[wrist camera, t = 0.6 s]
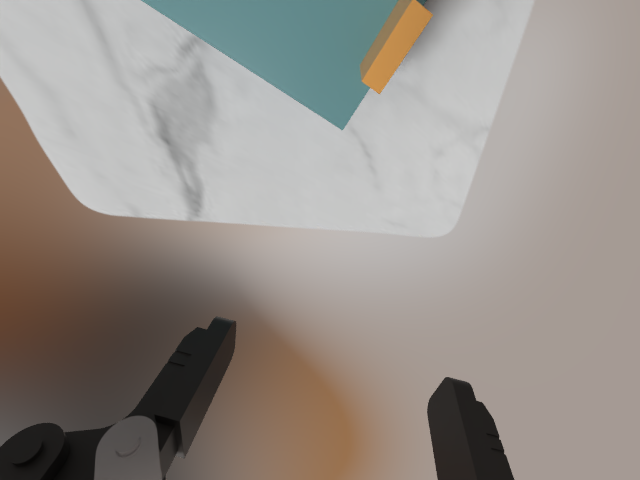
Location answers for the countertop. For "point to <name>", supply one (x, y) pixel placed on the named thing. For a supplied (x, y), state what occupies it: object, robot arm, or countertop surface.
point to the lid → (309, 43)
